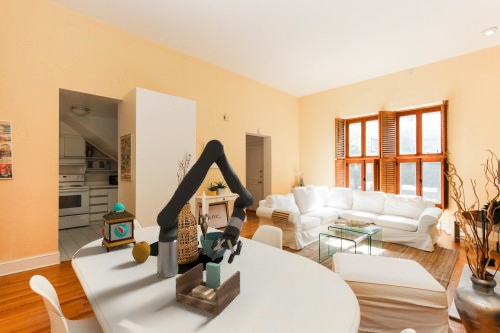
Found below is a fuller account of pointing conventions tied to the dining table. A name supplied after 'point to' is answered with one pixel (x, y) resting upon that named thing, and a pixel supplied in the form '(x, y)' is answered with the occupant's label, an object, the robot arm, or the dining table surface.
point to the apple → (141, 251)
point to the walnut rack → (195, 278)
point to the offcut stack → (204, 293)
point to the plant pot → (209, 241)
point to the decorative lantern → (118, 227)
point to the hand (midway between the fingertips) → (220, 261)
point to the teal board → (212, 275)
